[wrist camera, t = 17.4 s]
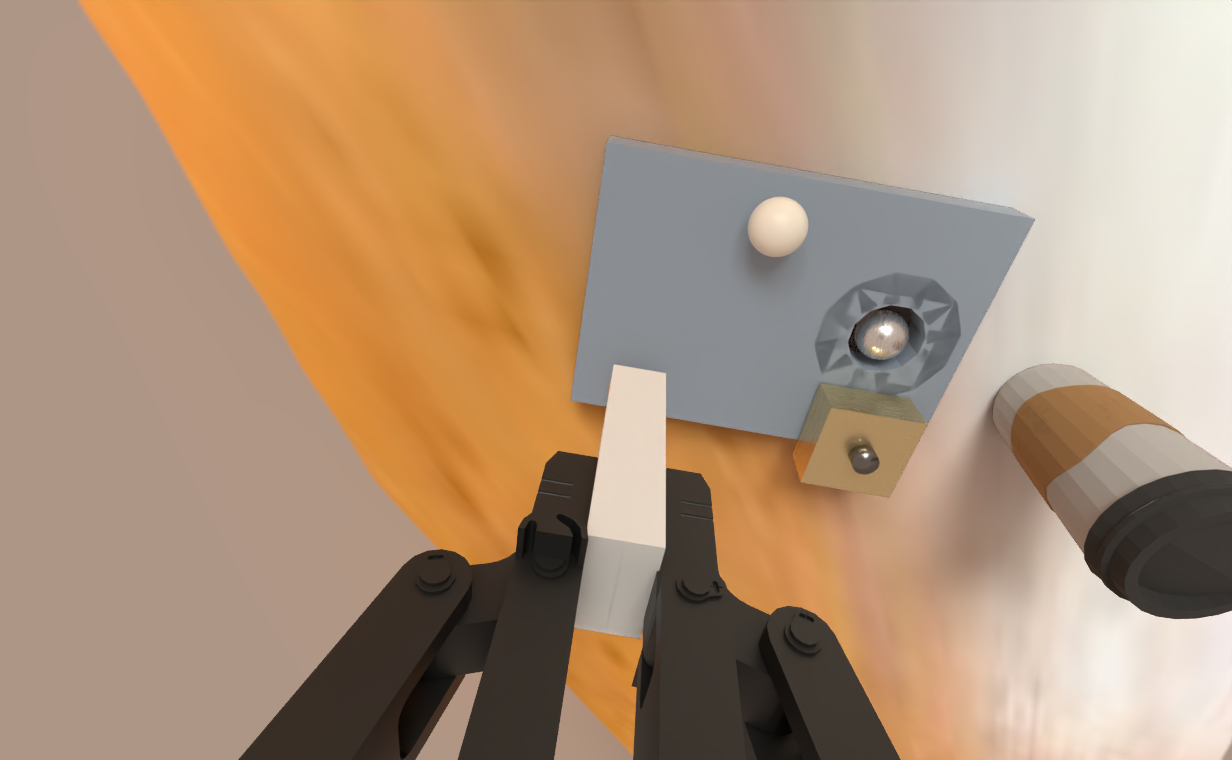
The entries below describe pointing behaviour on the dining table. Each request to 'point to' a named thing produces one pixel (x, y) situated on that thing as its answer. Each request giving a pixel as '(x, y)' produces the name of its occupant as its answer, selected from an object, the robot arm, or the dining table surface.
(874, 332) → the steel ball
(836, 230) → the board
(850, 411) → the brass cover
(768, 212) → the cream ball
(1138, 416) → the coffee cup
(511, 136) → the dining table surface
